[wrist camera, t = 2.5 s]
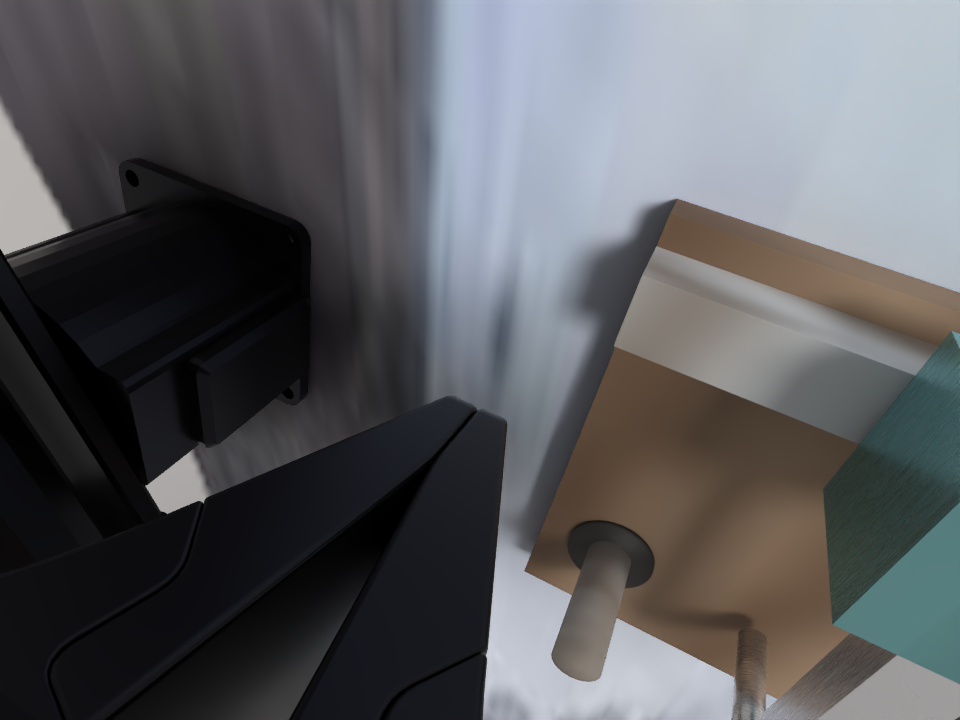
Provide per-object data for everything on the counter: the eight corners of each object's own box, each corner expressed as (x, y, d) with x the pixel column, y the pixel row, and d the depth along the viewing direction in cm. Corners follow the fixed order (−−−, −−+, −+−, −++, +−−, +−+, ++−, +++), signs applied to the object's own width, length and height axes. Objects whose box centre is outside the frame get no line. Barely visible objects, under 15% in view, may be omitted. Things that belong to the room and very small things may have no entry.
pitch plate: (535, 547, 19) (479, 671, 16) (677, 198, 12) (633, 285, 9) (966, 760, 16) (1014, 969, 13) (1482, 467, 9) (1897, 757, 6)
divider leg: (690, 617, 16) (664, 785, 13) (934, 295, 10) (1009, 454, 7) (804, 673, 15) (809, 866, 12) (1142, 365, 9) (1341, 581, 6)
